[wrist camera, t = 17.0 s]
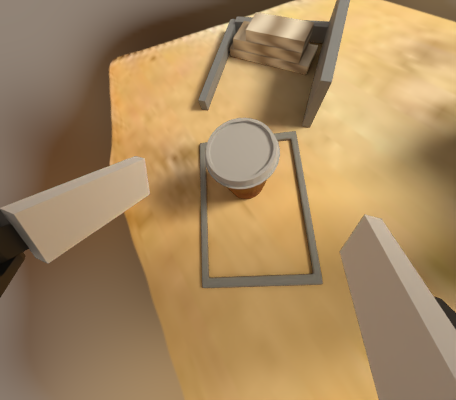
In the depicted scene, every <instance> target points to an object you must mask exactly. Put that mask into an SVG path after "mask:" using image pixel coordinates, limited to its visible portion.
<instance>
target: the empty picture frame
mask: <svg viewBox="0 0 456 400" xmlns="http://www.w3.org/2000/svg"><path fill="white" fill-rule="evenodd" d="M274 135H275V137H276V139H277V141H286V140H291V144H292V150H293V156H294V162H295V168H296V174H297V180H298V186H299V192H300V198H301V204H302V210H303V216H304V222H305V228H306V234H307V240H308V246H309V252H310V258H311V264H312V270H313V273H312V274H293V275H267V276H241V277H215V278H210V277H209V264H208V225H207V187H206V163H205V152H206V146H207V143H208V142H207V143H201V144H200V179H201V240H202V287H203V288H222V287H255V286H288V285H319V284H323V281H322V275H321V270H320V264H319V258H318V253H317V247H316V242H315V236H314V230H313V225H312V219H311V214H310V208H309V202H308V197H307V191H306V186H305V180H304V174H303V169H302V163H301V158H300V152H299V146H298V141H297V135H296V131H292V132H284V133H276V134H274Z"/></svg>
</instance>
